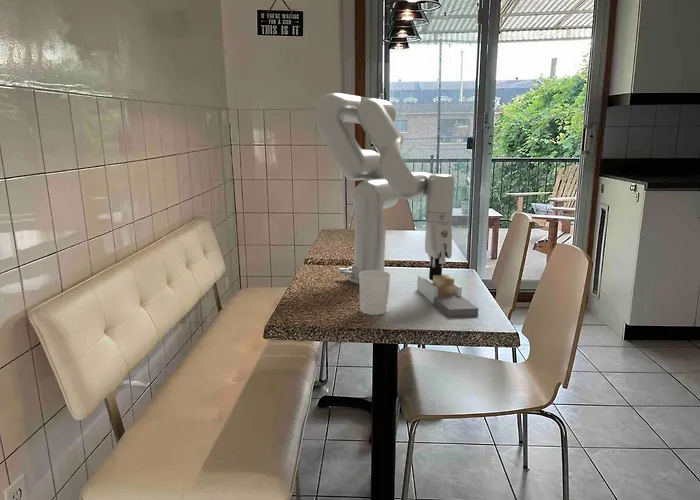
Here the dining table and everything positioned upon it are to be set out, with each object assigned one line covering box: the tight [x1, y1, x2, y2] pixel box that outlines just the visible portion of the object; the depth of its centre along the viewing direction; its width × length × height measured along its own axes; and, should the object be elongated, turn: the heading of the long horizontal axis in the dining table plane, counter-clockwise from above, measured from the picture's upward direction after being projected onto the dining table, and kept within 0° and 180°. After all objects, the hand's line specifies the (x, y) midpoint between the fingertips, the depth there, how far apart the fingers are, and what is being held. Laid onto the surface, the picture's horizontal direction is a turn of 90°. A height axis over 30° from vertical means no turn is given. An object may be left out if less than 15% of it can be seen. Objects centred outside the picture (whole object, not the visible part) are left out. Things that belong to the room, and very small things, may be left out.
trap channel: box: [416, 274, 479, 318], centre depth 149 cm, size 8×25×4 cm, turn 12°
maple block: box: [432, 274, 455, 295], centre depth 151 cm, size 4×4×4 cm
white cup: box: [358, 270, 391, 316], centre depth 138 cm, size 8×8×10 cm
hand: (435, 279), depth 157 cm, fingers closed
